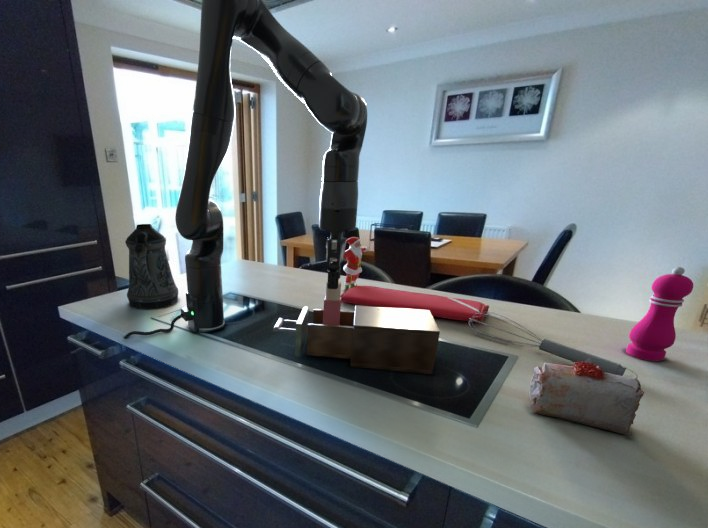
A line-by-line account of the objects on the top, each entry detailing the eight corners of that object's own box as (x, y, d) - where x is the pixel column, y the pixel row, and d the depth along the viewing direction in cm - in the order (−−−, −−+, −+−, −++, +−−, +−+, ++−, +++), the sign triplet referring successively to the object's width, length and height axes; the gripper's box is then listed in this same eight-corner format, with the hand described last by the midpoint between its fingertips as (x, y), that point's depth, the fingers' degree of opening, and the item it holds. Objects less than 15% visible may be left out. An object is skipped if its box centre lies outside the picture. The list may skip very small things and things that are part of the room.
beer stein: (169, 292, 140) (162, 220, 130) (189, 306, 125) (182, 226, 115) (123, 299, 132) (111, 223, 123) (137, 315, 117) (125, 230, 107)
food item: (525, 414, 67) (540, 363, 63) (525, 394, 73) (539, 346, 69) (630, 441, 60) (654, 385, 56) (621, 416, 66) (642, 364, 62)
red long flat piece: (357, 291, 138) (358, 281, 136) (488, 312, 115) (490, 300, 114) (338, 302, 126) (338, 291, 125) (479, 328, 104) (482, 315, 102)
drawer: (270, 354, 88) (270, 321, 85) (280, 334, 100) (281, 305, 97) (366, 363, 84) (369, 329, 81) (366, 341, 95) (369, 310, 92)
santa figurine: (341, 299, 129) (345, 242, 122) (325, 296, 132) (328, 241, 125) (373, 284, 147) (378, 233, 139) (358, 281, 150) (363, 232, 143)
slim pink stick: (321, 345, 90) (324, 284, 84) (322, 340, 92) (326, 280, 87) (337, 347, 89) (341, 285, 83) (338, 341, 92) (342, 281, 86)
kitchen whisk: (630, 387, 75) (642, 357, 72) (461, 334, 101) (465, 311, 98) (640, 378, 78) (652, 349, 75) (473, 329, 104) (478, 306, 101)
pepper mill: (655, 350, 89) (691, 264, 82) (674, 364, 83) (715, 272, 75) (616, 347, 92) (648, 262, 84) (632, 359, 85) (668, 269, 78)
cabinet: (350, 366, 84) (353, 325, 80) (352, 342, 96) (355, 305, 93) (432, 374, 80) (440, 331, 77) (423, 348, 92) (429, 310, 89)
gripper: (323, 203, 86) (320, 275, 92) (316, 208, 73) (313, 291, 80) (357, 203, 84) (352, 276, 91) (356, 208, 72) (350, 293, 78)
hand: (334, 283), depth 85 cm, fingers open, 8 cm apart
